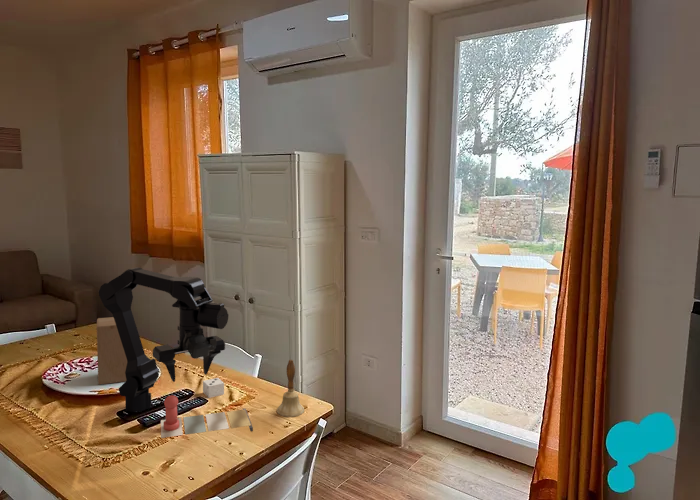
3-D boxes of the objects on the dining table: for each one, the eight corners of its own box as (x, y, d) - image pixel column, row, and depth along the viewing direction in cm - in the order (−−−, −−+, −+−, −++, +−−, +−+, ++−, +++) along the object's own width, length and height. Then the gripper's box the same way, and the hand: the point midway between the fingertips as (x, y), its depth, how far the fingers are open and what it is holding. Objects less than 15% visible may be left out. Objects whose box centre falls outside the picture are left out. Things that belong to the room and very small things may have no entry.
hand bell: (282, 419, 145) (283, 366, 143) (272, 407, 152) (273, 357, 150) (308, 414, 149) (310, 363, 147) (298, 402, 156) (299, 353, 154)
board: (159, 444, 129) (159, 439, 129) (159, 422, 140) (159, 418, 140) (252, 430, 138) (252, 426, 137) (245, 411, 149) (245, 407, 148)
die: (208, 401, 154) (208, 386, 154) (202, 395, 158) (202, 380, 158) (224, 398, 157) (224, 382, 156) (218, 392, 161) (218, 377, 160)
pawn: (163, 431, 133) (163, 400, 131) (163, 424, 136) (163, 393, 135) (179, 429, 134) (179, 398, 133) (179, 422, 138) (178, 392, 137)
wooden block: (131, 381, 167) (130, 323, 164) (98, 385, 162) (96, 326, 160) (130, 370, 176) (129, 315, 173) (98, 374, 171) (96, 317, 168)
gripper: (167, 337, 125) (167, 396, 127) (234, 326, 137) (233, 380, 139) (151, 326, 133) (152, 381, 135) (216, 316, 145) (216, 367, 147)
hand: (189, 377), depth 139 cm, fingers open, 9 cm apart
